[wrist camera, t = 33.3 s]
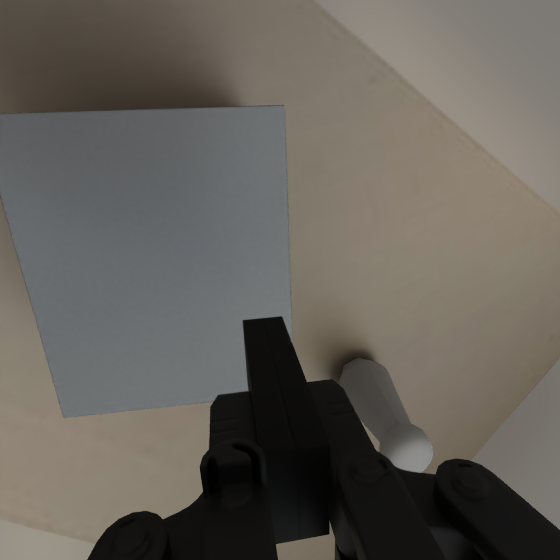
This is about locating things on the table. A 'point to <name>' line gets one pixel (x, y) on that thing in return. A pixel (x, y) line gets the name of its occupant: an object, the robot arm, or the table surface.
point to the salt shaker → (385, 415)
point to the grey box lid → (148, 246)
